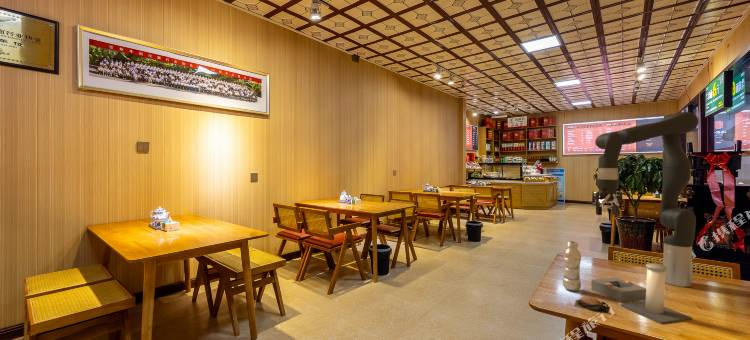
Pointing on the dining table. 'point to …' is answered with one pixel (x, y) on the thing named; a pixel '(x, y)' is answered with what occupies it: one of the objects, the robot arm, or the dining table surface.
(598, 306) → the dark brown curved piece
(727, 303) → the dining table surface
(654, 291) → the cylinder
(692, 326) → the dining table surface
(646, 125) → the robot arm
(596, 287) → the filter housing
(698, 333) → the dining table surface
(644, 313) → the rubber mat
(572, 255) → the plastic bottle
